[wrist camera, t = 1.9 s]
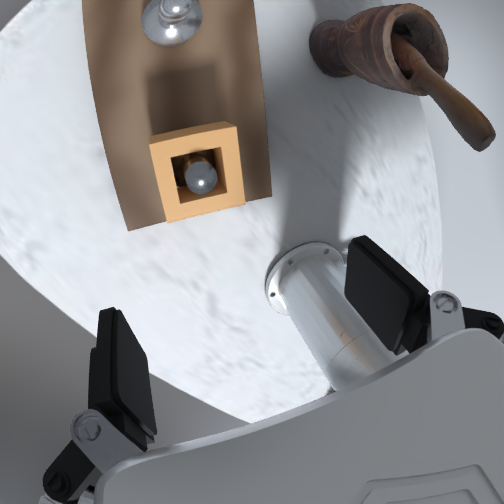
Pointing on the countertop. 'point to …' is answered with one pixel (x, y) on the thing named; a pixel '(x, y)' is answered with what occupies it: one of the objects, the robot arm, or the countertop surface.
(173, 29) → the silver round flared piece
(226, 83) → the board
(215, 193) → the collar
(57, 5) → the countertop surface
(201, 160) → the shiny metal knob
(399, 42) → the mortar and pestle
